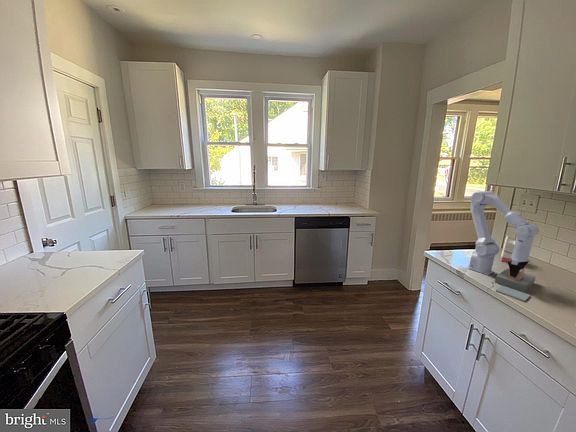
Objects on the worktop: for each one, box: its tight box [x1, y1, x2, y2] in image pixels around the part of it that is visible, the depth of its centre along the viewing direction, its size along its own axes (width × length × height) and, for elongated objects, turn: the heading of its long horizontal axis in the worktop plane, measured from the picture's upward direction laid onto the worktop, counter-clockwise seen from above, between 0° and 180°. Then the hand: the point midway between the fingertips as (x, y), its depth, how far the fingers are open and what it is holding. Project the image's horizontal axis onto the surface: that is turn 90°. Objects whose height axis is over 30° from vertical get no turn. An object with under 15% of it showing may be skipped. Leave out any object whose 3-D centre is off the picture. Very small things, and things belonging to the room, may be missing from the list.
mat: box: [495, 285, 531, 302], centre depth 111 cm, size 10×8×1 cm
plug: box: [507, 268, 525, 281], centre depth 119 cm, size 4×4×8 cm
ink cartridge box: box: [500, 236, 516, 263], centre depth 146 cm, size 9×5×15 cm, turn 141°
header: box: [494, 267, 536, 293], centre depth 121 cm, size 11×16×4 cm
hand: (515, 274), depth 119 cm, fingers open, 6 cm apart
